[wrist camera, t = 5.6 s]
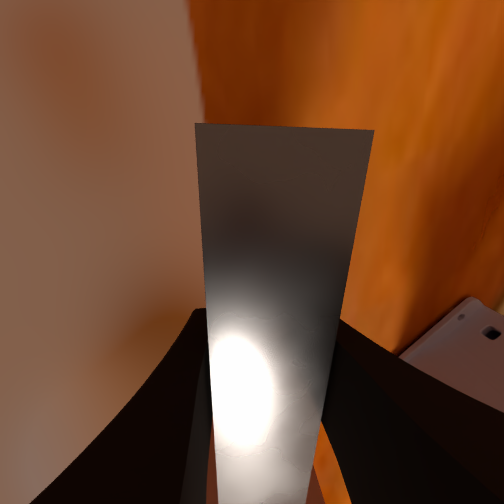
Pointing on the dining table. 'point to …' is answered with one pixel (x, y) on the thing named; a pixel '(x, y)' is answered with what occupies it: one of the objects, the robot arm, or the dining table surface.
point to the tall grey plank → (274, 293)
